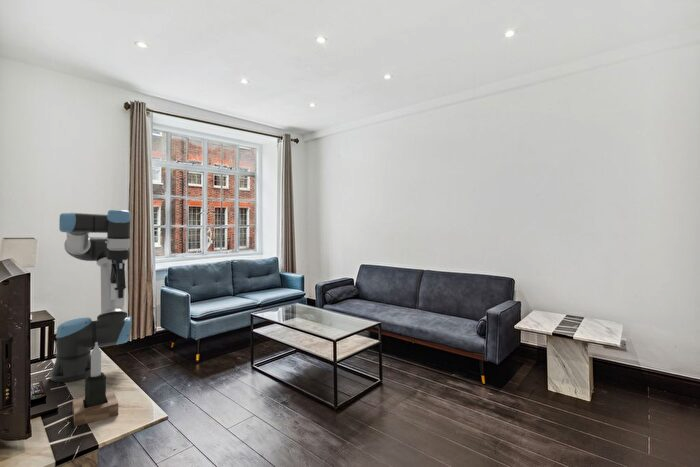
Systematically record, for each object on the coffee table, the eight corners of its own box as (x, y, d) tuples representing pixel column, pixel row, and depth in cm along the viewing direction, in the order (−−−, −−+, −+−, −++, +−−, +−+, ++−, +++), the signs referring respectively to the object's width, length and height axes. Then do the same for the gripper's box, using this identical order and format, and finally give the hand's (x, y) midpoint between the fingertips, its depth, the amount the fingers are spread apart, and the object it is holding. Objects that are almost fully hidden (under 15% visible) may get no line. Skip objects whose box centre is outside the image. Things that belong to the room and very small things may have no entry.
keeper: (72, 410, 123) (72, 399, 123) (113, 400, 131) (113, 389, 131) (74, 426, 114) (74, 414, 114) (118, 414, 122) (118, 403, 122)
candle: (106, 411, 124) (108, 341, 123) (90, 418, 119) (91, 346, 119) (99, 407, 126) (101, 338, 126) (83, 413, 122) (84, 342, 121)
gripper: (102, 246, 145) (101, 297, 146) (111, 252, 126) (110, 310, 127) (124, 246, 150) (123, 295, 151) (135, 252, 131) (134, 308, 132)
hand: (117, 302), depth 139 cm, fingers open, 13 cm apart
